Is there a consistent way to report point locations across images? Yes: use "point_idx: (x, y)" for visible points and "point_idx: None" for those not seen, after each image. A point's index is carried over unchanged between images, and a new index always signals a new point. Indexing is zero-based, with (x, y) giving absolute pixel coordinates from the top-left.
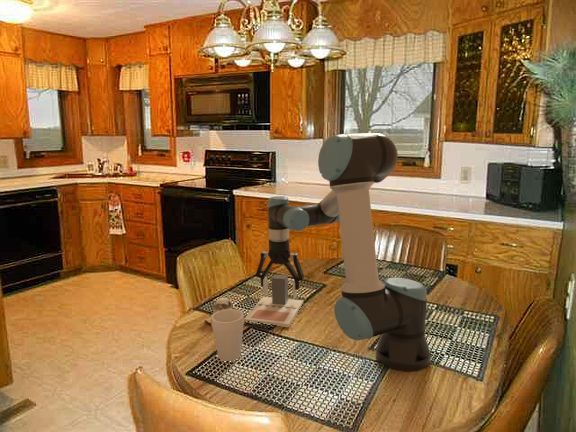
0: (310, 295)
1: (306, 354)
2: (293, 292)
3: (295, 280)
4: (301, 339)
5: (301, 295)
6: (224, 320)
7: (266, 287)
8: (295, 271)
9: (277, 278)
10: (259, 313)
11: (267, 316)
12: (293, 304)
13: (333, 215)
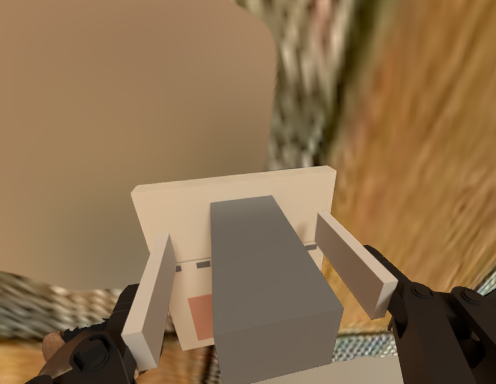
0: (350, 36)
1: (353, 357)
2: (332, 262)
3: (398, 326)
4: (341, 331)
5: (303, 51)
6: None
7: (165, 280)
8: (466, 366)
9: (272, 376)
10: (209, 315)
11: None
12: (302, 221)
13: None
